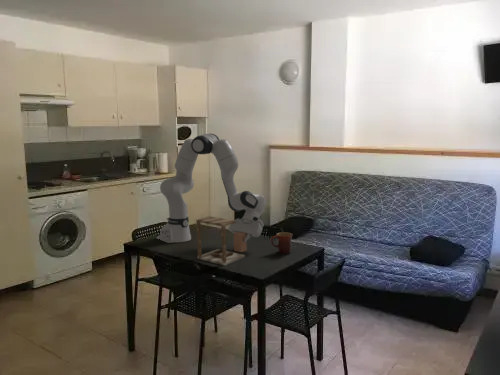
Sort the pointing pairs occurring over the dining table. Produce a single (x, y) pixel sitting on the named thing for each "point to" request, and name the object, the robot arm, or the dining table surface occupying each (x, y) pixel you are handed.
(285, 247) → the mug
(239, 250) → the block
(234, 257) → the dock
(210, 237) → the dining table surface
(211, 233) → the dining table surface
